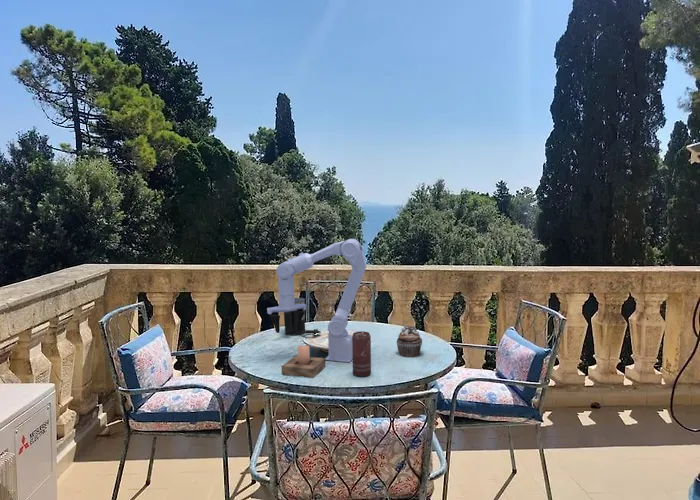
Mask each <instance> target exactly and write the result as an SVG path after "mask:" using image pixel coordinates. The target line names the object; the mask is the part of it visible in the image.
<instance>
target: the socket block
mask: <svg viewBox="0 0 700 500" xmlns="http://www.w3.org/2000/svg"><path fill="white" fill-rule="evenodd" d="M325 358H326V357H325ZM325 358H324V357H313V356H310V364H309V365H299V364H298V355H294V356H293V357H292V358H290V359H289V360H288V361H287V362H285V363H283V364H282V365H281V375H282V374H283V375H282V376H290V375H293V376H292V377H300V376H304V377H303V378H310V377H312V378H311V379H314V378H315V377H316V376H318V375H319V373H320V372H321V371H323V370H324V369H325V368H326V360H325Z"/></svg>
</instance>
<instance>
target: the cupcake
mask: <svg viewBox="0 0 700 500" xmlns="http://www.w3.org/2000/svg"><path fill="white" fill-rule="evenodd" d="M419 332H420V331H419V330H417V328H416V327H415V326H408V327H407V326H403V327H401V331H400V333H399V334H398V338H397V339H396V345H397V346H396V347H397V352H398V354H399V356H401V357H406V358H411V357H412V358H415V357H419V356H420V355H421V348H422V344H423V338H422V337H421V335H420V333H419Z"/></svg>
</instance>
